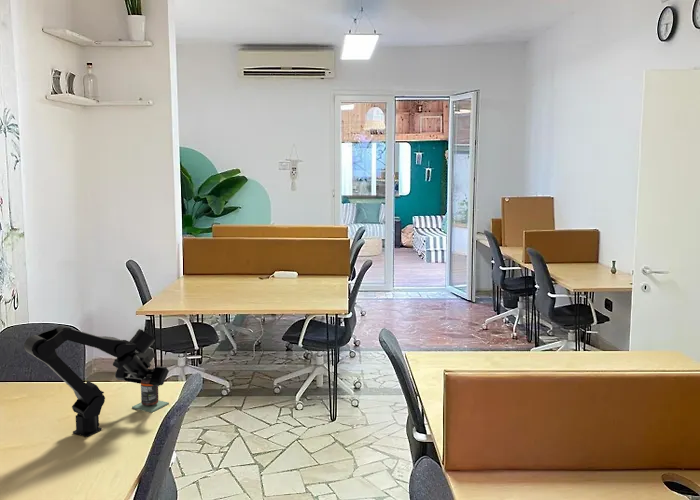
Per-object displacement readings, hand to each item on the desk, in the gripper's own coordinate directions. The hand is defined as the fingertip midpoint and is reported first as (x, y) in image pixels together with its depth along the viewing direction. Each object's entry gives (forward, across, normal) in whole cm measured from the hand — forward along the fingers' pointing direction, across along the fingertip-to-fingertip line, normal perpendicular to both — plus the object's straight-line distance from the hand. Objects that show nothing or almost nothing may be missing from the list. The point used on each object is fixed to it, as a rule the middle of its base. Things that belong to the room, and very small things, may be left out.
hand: (151, 384), depth 230 cm
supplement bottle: (+4, 0, +6) cm, 7 cm away
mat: (+5, 0, +6) cm, 8 cm away
